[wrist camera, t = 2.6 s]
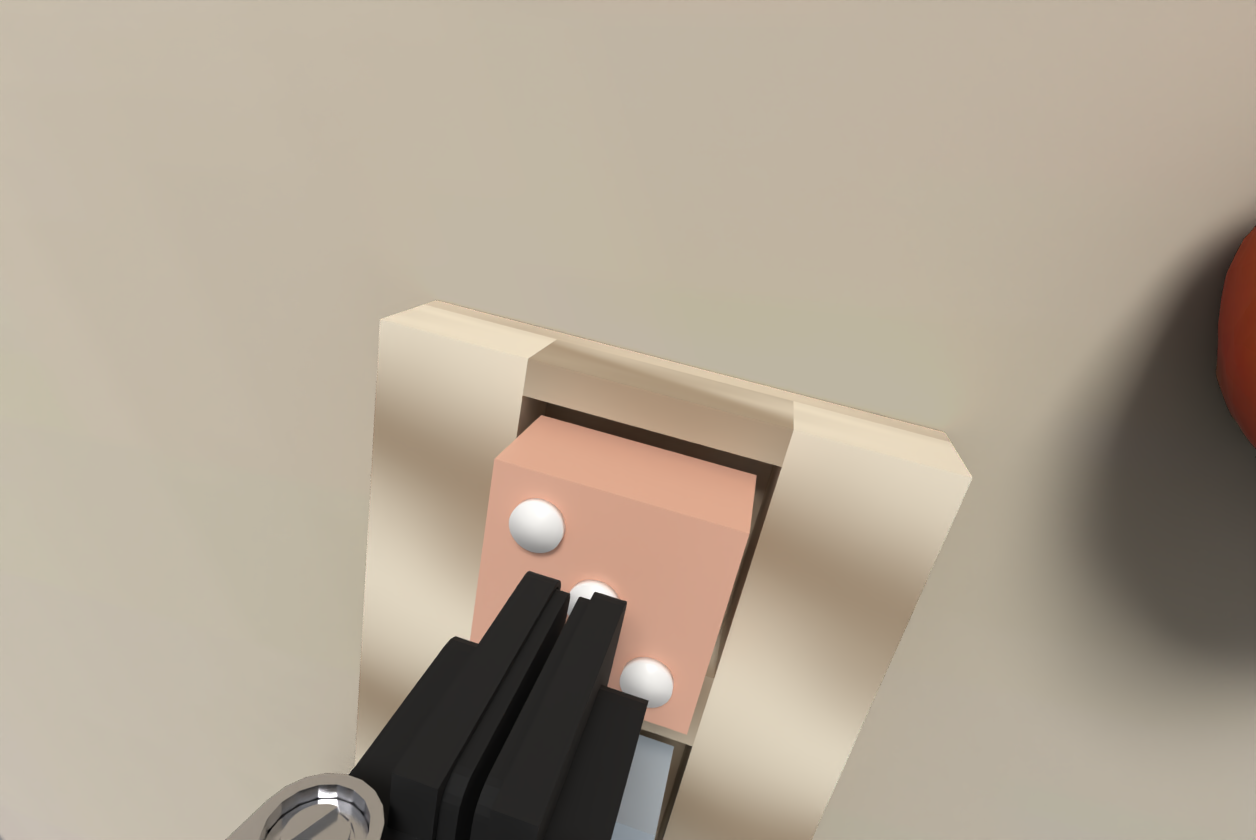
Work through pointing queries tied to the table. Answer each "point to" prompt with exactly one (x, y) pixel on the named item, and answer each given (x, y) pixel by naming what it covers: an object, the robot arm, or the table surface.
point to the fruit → (1239, 338)
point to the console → (767, 576)
